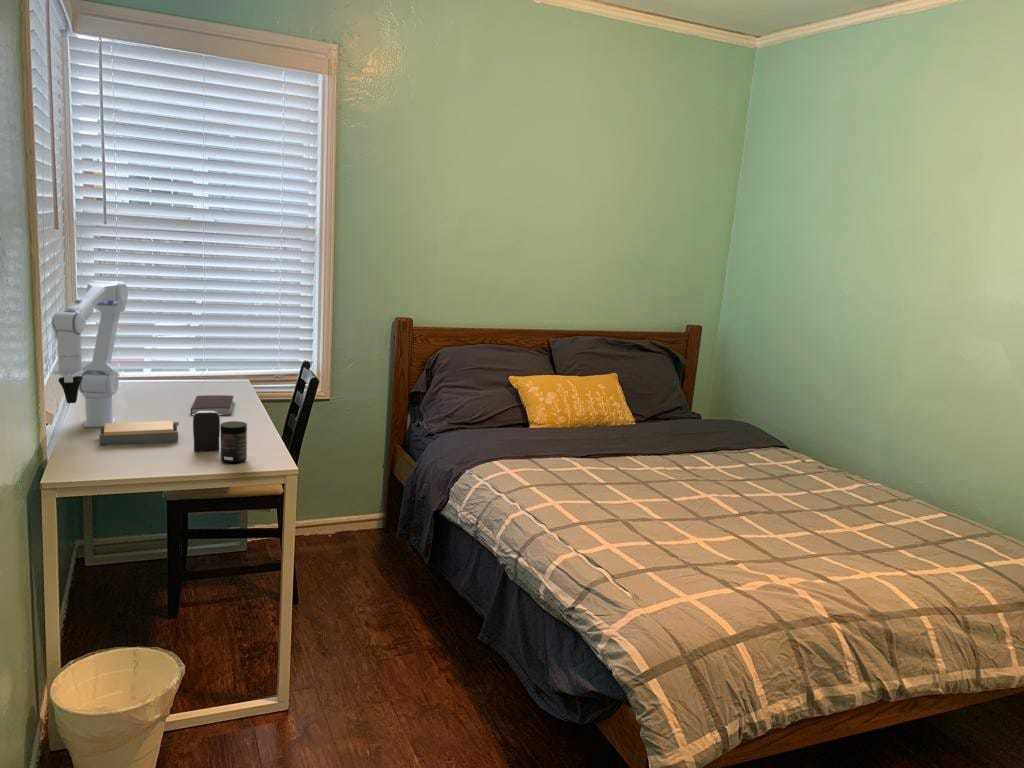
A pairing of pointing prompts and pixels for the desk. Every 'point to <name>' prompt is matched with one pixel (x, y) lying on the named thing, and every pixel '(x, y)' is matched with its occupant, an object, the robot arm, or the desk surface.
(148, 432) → the cover
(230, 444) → the supplement container
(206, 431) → the battery charger
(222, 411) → the book
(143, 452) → the desk surface
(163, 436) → the grey tray with rod
